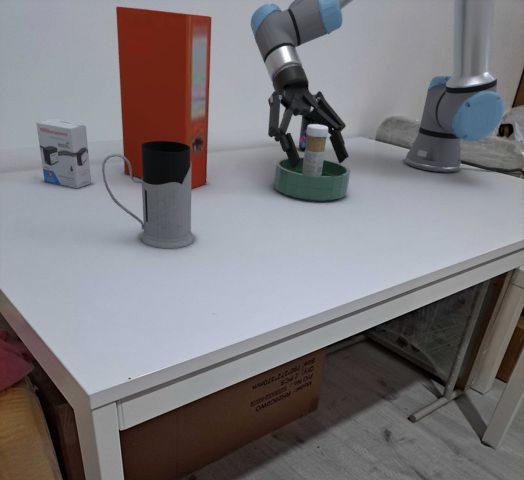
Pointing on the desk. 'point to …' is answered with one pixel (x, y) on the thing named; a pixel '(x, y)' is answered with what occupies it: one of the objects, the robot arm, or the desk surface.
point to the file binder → (164, 83)
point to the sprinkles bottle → (315, 149)
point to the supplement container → (304, 131)
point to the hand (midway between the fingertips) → (320, 162)
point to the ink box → (64, 152)
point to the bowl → (312, 181)
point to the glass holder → (163, 193)
